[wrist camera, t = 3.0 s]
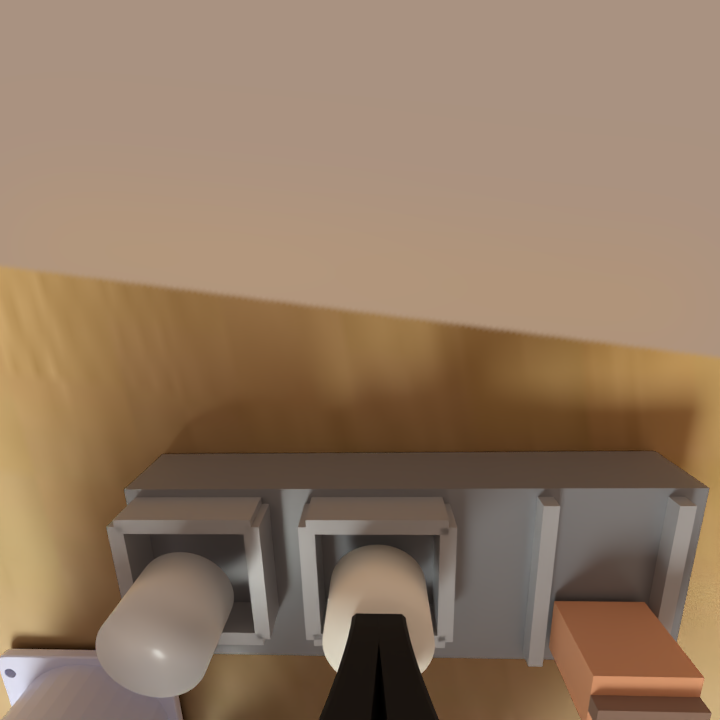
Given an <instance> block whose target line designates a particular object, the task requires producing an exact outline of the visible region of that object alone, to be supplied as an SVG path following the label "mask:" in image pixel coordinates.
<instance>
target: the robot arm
mask: <svg viewBox="0 0 720 720" xmlns="http://www.w3.org/2000/svg"><path fill="white" fill-rule="evenodd" d="M0 672H1V675H2V678H3V681H4V684H5V687H6V690H7V694H8V697H9V700H10V703H11V706H12V707H11V708H10V710H9V711H8V712H7V713H6V715H5V716H4V717H3V718H2V720H183V717H182V712H181V706H180V701H179V695H177V696H173V697H163V698H159V697H150V696H145V695H141V694H138V693H135V692H132V691H130V690H128V689H126V688H124V687H123V686H121V685H120V684H118V683H117V682H116V681H114V680H113V679H112V678H111V677H110V676H109V675H108V674H107V673H106V671H105V670H104V669H103V667H102V666H101V664H100V662H99V660H98V657H97V653H96V650H62V649H8V650H6V651H5V652H4V653H3V654H2V655H1V656H0ZM319 720H439V719H438V716H437V714H436V712H435V709H434V707H433V704H432V701H431V699H430V696H429V694H428V691H427V688H426V686H425V683H424V681H423V678H422V675H421V672H420V669H419V666H418V663H417V660H416V657H415V654H414V651H413V647H412V644H411V640H410V636H409V632H408V627H407V622H406V617H404V616H403V615H402V614H364V613H356V614H355V615H354V616H352V620H351V626H350V630H349V635H348V639H347V642H346V646H345V649H344V653H343V656H342V659H341V662H340V665H339V668H338V671H337V674H336V677H335V679H334V682H333V685H332V688H331V691H330V693H329V696H328V699H327V701H326V704H325V706H324V709H323V711H322V713H321V716H320V718H319Z"/></svg>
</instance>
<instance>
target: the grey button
mask: <svg viewBox="0 0 720 720" xmlns="http://www.w3.org/2000/svg"><path fill="white" fill-rule="evenodd" d="M233 603H234V592H233V587H232V585H231V582H230V580H229V578H228V577H227V575H226V574H225V573H224V572H223V571H222V569H221V568H219V567H218V566H217V565H216V564H215V563H213V562H212V561H210V560H208V559H206V558H204V557H202V556H199V555H196V554H192V553H187V552H173V553H168V554H164V555H161V556H159V557H157V558H156V559H154V560H152V561H151V562H150V563H149V564H148V565H147V566H146V567H145V569H144V570H143V571H142V573H141V574H140V575H139V577H138V578H137V579H136V581H135V582H134V583H133V585H132V586H131V587H130V589H129V590H128V591H127V593H126V594H125V595H124V597H123V598H122V599H121V601H120V602H119V603H118V605H117V606H116V607H115V609H114V610H113V611H112V613H111V614H110V615H109V617H108V618H107V619H106V621H105V622H104V623H103V625H102V626H101V628H100V630H99V631H98V634H97V637H96V653H97V657H98V660H99V662H100V664H101V666H102V667H103V669H104V670H105V671H106V673H107V674H108V675H109V676H110V677H111V678H112V679H113V680H114V681H116V682H117V683H118V684H120V685H121V686H123V687H124V688H126V689H128V690H130V691H132V692H135V693H138V694H141V695H145V696H150V697H159V698H163V697H173V696H177V695H181V694H183V693H186V692H188V691H190V690H191V689H193V688H194V687H195V686H197V684H198V683H199V682H200V681H201V680H202V678H203V677H204V675H205V672H206V670H207V668H208V665H209V663H210V660H211V658H212V656H213V653H214V651H215V648H216V646H217V643H218V641H219V639H220V636H221V634H222V631H223V629H224V626H225V624H226V622H227V619H228V617H229V614H230V612H231V610H232V607H233Z"/></svg>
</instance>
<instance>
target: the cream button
mask: <svg viewBox="0 0 720 720" xmlns="http://www.w3.org/2000/svg"><path fill="white" fill-rule="evenodd" d="M356 613H364V614H402V615H403V616H404V617H406V622H407V627H408V632H409V636H410V640H411V644H412V647H413V651H414V654H415V657H416V660H417V663H418V666H419V669H420V672H421V673H423V672H424V670H425V669H426V668H427V667H428V665H429V664H430V662H431V660H432V658H433V655H434V650H435V639H434V633H433V627H432V620H431V614H430V607H429V601H428V594H427V588H426V581H425V577H424V573H423V571H422V569H421V567H420V565H419V564H418V563H417V562H416V560H415V559H414V558H412V557H411V556H410V555H409V554H407V553H406V552H404V551H402V550H400V549H398V548H395V547H392V546H387V545H367V546H362V547H359V548H356V549H354V550H352V551H350V552H349V553H347V554H346V555H344V556H343V557H342V558H341V559H340V560H339V561H338V563H337V564H336V566H335V568H334V569H333V572H332V576H331V582H330V589H329V596H328V603H327V610H326V617H325V624H324V631H323V640H322V645H323V651H324V654H325V657H326V659H327V661H328V662H329V664H330V665H331V666H332V668H333V669H334V670H335V671H336V672H337V671H338V668H339V665H340V662H341V659H342V656H343V653H344V649H345V646H346V642H347V639H348V635H349V630H350V626H351V620H352V616H354V615H355V614H356Z"/></svg>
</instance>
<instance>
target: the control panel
mask: <svg viewBox="0 0 720 720" xmlns="http://www.w3.org/2000/svg"><path fill="white" fill-rule="evenodd" d="M124 492H125V497H126V502H127V506H126V507H125V508H124V509H123V510H122V511H121V512H120V513H119V514H118V515H117V516H116V517H115V518H114V519H113V521H112V522H111V523H110V524H109V525H108V526H107V527H106V528H107V533H108V538H109V542H110V547H111V552H112V556H113V561H114V566H115V571H116V575H117V580H118V585H119V589H120V594H121V599H122V598H123V597H124V595H125V594H126V593H127V591H128V590H129V589H130V587H131V586H132V585H133V583H134V582H135V581H136V579H137V578H138V577H139V575H140V574H141V573H142V571H143V570H144V569H145V567H146V566H147V565H148V564H149V563H150V562H151V561H152V560H154V559H156V558H157V557H159V556H161V555H164V554H168V553H173V552H187V553H192V554H196V555H199V556H202V557H204V558H206V559H208V560H210V561H212V562H213V563H215V564H216V565H217V566H218V567H219V568H221V569H222V571H223V572H224V573H225V574H226V575H227V577H228V578H229V580H230V582H231V585H232V587H233V592H234V603H233V607H232V610H231V612H230V614H229V617H228V619H227V622H226V624H225V626H224V629H223V631H222V634H221V636H220V639H219V641H218V643H217V646H216V648H215V651H214V653H213V654H248V655H308V656H325V654H324V651H323V645H322V640H323V631H324V624H325V617H326V610H327V603H328V596H329V589H330V582H331V576H332V572H333V569H334V568H335V566H336V564H337V563H338V561H339V560H340V559H341V558H342V557H343V556H344V555H346V554H347V553H349V552H350V551H352V550H354V549H356V548H359V547H362V546H367V545H387V546H392V547H395V548H398V549H400V550H402V551H404V552H406V553H407V554H409V555H410V556H411V557H412V558H414V559H415V560H416V562H417V563H418V564H419V565H420V567H421V569H422V571H423V573H424V577H425V581H426V588H427V594H428V601H429V607H430V614H431V620H432V627H433V633H434V639H435V650H434V655H433V658H488V659H525V660H526V662H527V665H528V666H535V667H543V659H548V660H554V658H553V655H552V653H551V651H550V649H549V642H550V633H551V624H552V616H553V607H554V601H598V602H645V603H646V604H647V606H648V607H649V608H650V609H651V611H652V612H653V613H654V615H655V616H656V617H657V618H658V620H659V621H660V622H661V623H662V625H663V626H664V627H665V628H666V630H667V631H668V632H669V634H670V635H671V636H672V637H673V639H674V640H675V641H676V642H677V637H678V633H679V628H680V623H681V619H682V614H683V609H684V605H685V600H686V595H687V591H688V586H689V581H690V577H691V572H692V567H693V563H694V558H695V553H696V548H697V544H698V539H699V534H700V530H701V525H702V520H703V516H704V511H705V506H706V502H707V497H708V492H709V488H708V487H707V486H706V485H704V484H703V483H701V482H700V481H698V480H697V479H695V478H694V477H692V476H691V475H689V474H688V473H686V472H685V471H684V470H682V469H681V468H679V467H678V466H676V465H675V464H673V463H672V462H670V461H669V460H667V459H666V458H664V457H663V456H662V455H660V454H659V453H657V452H656V451H570V452H410V453H250V454H162V455H161V456H160V457H159V458H158V459H157V460H156V461H155V462H154V463H152V464H151V465H150V466H149V467H148V468H147V469H146V470H145V471H144V472H143V473H141V474H140V475H139V476H138V477H137V478H136V479H135V480H134V481H133V482H132V483H130V484H129V485H128V486H127V487H126V488H125V489H124Z"/></svg>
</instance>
